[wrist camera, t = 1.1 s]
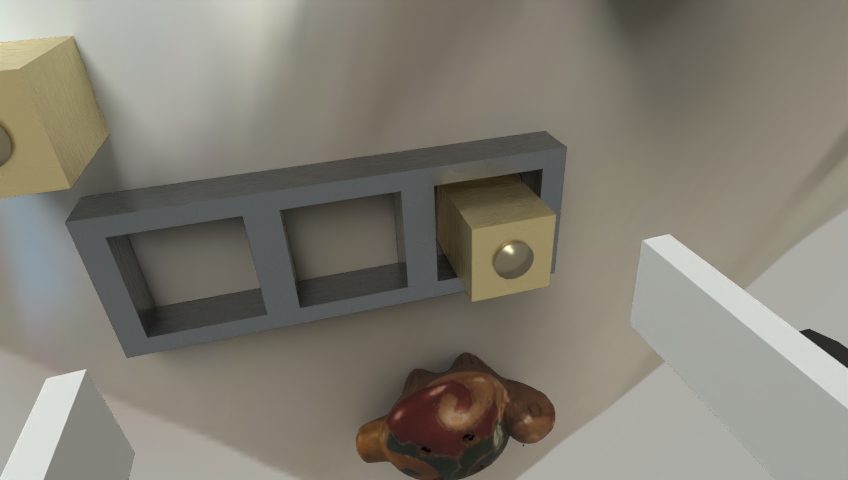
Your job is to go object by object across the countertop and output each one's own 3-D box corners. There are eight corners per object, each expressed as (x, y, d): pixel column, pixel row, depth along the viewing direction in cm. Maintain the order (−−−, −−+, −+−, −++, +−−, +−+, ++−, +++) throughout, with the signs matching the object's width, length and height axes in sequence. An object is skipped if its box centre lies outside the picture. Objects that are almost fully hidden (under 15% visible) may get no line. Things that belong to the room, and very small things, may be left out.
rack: (81, 197, 30) (65, 222, 27) (545, 131, 35) (566, 147, 33) (136, 326, 35) (127, 358, 32) (535, 251, 40) (554, 272, 38)
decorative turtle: (535, 379, 48) (574, 460, 41) (378, 442, 48) (393, 532, 42) (511, 308, 42) (552, 388, 35) (332, 380, 42) (341, 473, 36)
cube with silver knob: (-45, 45, 25) (-141, 85, 19) (73, 35, 26) (16, 70, 20) (4, 147, 28) (-67, 210, 22) (109, 134, 29) (69, 191, 23)
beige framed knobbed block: (436, 178, 35) (473, 231, 29) (507, 167, 36) (558, 216, 30) (438, 242, 38) (473, 304, 32) (505, 230, 39) (550, 288, 32)
